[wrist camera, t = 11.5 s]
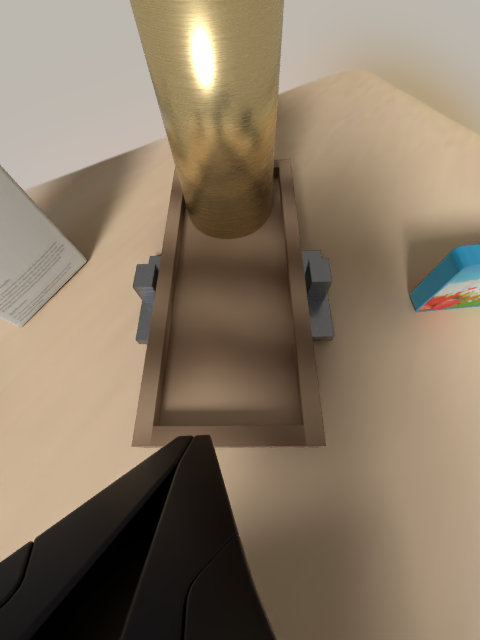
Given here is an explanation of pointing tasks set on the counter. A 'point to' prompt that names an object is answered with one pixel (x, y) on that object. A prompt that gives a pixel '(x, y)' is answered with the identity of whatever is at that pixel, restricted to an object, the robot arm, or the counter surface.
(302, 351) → the brown wooden tray
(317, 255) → the pivot stand
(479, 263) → the yogurt
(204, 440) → the robot arm
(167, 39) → the cylinder
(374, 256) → the counter surface
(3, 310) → the skincare box
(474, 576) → the counter surface
